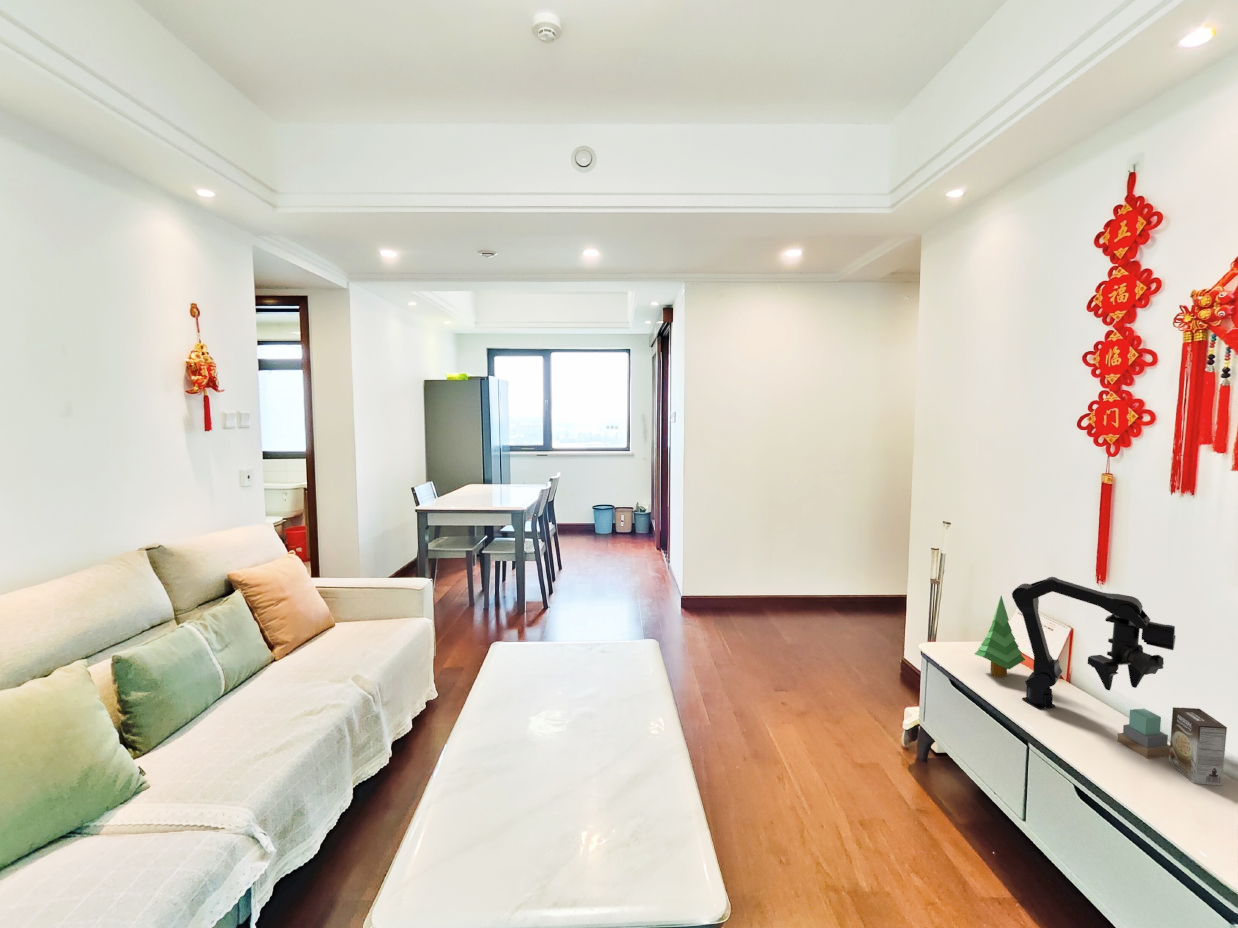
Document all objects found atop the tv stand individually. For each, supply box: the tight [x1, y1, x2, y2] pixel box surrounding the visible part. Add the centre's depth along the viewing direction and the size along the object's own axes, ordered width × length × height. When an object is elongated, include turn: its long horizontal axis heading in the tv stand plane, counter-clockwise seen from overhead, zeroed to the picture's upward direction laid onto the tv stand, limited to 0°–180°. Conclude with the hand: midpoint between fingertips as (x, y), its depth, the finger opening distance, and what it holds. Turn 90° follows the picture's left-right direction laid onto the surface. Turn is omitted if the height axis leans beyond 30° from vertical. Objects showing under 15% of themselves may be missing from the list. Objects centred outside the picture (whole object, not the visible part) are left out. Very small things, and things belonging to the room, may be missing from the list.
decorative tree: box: [974, 595, 1026, 678], centre depth 201 cm, size 14×16×30 cm
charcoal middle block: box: [1122, 723, 1169, 748], centre depth 157 cm, size 6×6×3 cm
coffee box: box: [1168, 706, 1228, 786], centre depth 145 cm, size 9×6×16 cm
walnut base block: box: [1116, 732, 1170, 759], centre depth 157 cm, size 8×8×3 cm
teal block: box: [1128, 708, 1162, 735], centre depth 156 cm, size 4×4×5 cm
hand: (1120, 688), depth 166 cm, fingers open, 9 cm apart
